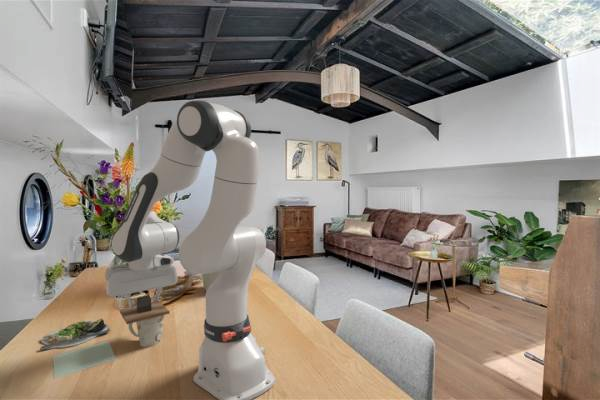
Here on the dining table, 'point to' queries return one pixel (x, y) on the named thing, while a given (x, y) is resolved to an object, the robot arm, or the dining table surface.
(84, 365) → the green mat
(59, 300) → the dining table surface
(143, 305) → the walnut lid
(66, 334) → the salad plate
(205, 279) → the canister
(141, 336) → the mug
